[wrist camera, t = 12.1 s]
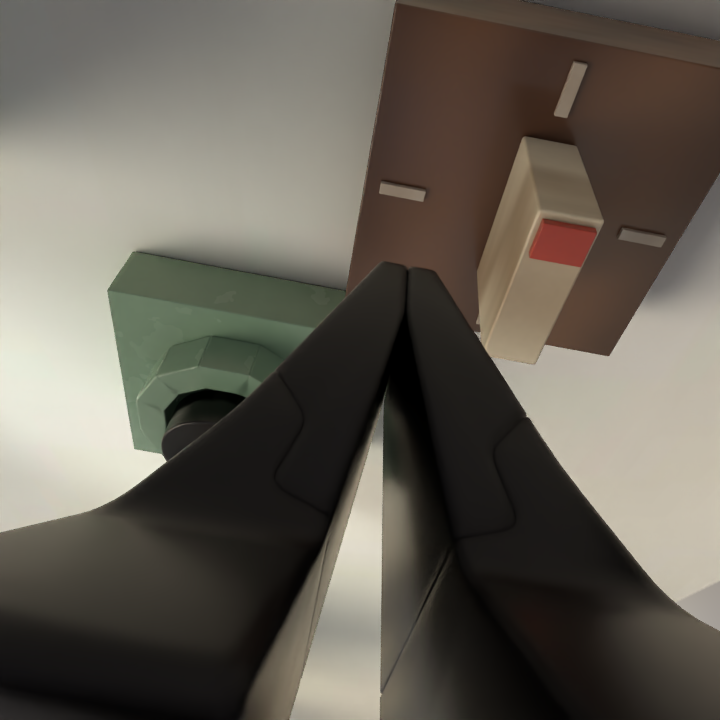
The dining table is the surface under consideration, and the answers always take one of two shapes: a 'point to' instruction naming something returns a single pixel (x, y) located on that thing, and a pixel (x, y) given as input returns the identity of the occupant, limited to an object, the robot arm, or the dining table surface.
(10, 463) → the dining table surface
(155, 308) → the button box
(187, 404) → the button
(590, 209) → the beige long block
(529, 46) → the dial panel
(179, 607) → the robot arm
